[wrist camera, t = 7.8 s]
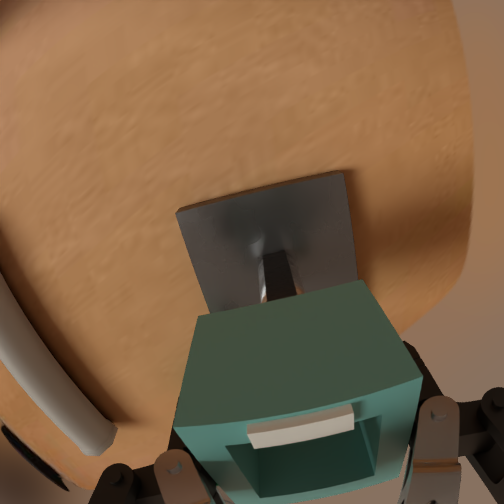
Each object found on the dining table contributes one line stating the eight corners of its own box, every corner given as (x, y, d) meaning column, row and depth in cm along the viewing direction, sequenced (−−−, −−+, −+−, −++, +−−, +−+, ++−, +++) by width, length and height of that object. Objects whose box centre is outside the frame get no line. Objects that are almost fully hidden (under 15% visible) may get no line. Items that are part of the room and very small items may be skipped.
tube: (-69, 250, 16) (73, 449, 25) (-64, 235, 14) (100, 462, 22) (-29, 224, 20) (96, 417, 29) (-17, 207, 18) (125, 425, 27)
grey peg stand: (179, 208, 19) (136, 262, 12) (337, 170, 18) (395, 202, 11) (224, 336, 23) (215, 423, 15) (356, 306, 22) (396, 385, 14)
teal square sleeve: (198, 316, 11) (170, 436, 6) (362, 279, 11) (428, 384, 6) (241, 415, 13) (239, 514, 8) (367, 389, 13) (400, 483, 8)
